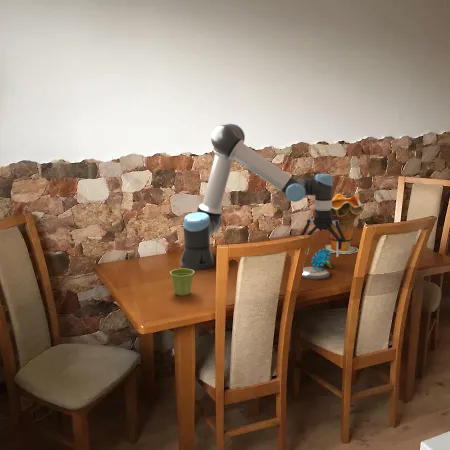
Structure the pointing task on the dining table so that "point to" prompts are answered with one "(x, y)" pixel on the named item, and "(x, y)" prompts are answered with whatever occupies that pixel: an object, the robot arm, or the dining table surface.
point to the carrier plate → (315, 273)
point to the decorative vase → (344, 221)
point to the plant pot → (182, 280)
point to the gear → (321, 258)
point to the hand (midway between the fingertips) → (322, 255)
